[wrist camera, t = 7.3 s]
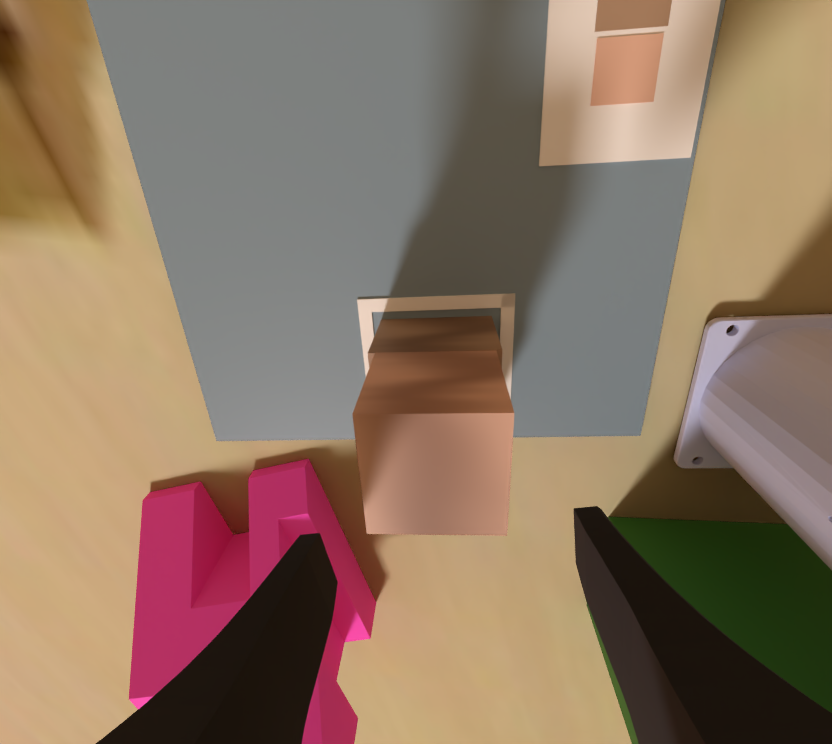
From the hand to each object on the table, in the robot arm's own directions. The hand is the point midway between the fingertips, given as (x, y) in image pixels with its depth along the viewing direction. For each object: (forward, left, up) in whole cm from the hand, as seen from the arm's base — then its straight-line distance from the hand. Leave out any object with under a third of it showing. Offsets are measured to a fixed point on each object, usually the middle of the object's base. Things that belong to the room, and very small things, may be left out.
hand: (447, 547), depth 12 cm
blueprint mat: (+1, -7, -10) cm, 13 cm away
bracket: (+11, +11, -11) cm, 19 cm away
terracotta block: (0, -1, -6) cm, 6 cm away
